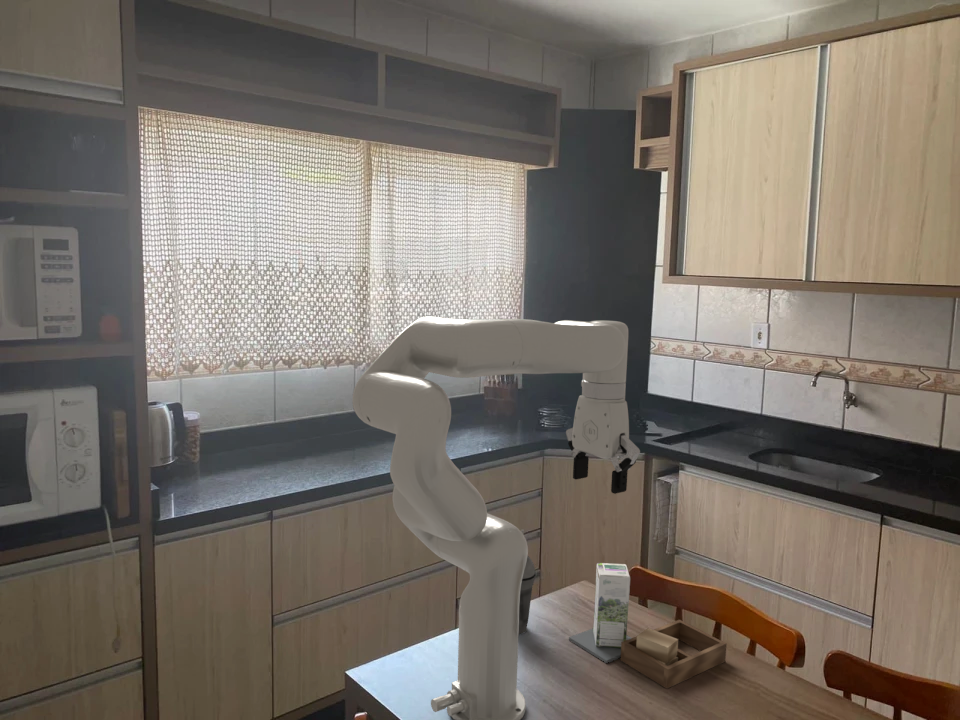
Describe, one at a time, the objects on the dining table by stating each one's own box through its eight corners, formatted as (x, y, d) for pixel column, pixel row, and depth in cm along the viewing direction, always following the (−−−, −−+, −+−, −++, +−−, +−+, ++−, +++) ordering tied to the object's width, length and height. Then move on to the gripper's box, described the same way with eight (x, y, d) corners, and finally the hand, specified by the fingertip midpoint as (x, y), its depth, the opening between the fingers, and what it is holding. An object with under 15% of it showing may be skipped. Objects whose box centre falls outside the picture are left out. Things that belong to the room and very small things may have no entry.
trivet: (606, 663, 134) (606, 660, 134) (568, 639, 142) (569, 637, 142) (644, 648, 140) (644, 645, 140) (606, 626, 148) (606, 623, 148)
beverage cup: (489, 627, 146) (491, 530, 143) (515, 616, 151) (518, 521, 148) (515, 642, 141) (518, 541, 138) (541, 630, 145) (545, 532, 143)
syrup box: (622, 634, 143) (626, 562, 142) (626, 649, 138) (630, 575, 136) (592, 632, 144) (596, 560, 142) (595, 648, 138) (599, 573, 136)
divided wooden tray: (666, 688, 126) (667, 669, 126) (620, 660, 135) (621, 642, 135) (725, 661, 136) (726, 643, 135) (678, 636, 144) (679, 619, 144)
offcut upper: (666, 663, 129) (667, 647, 129) (636, 651, 133) (636, 635, 133) (677, 655, 132) (678, 639, 132) (646, 643, 136) (647, 627, 136)
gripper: (555, 385, 135) (551, 476, 138) (624, 400, 122) (619, 501, 124) (585, 382, 140) (581, 470, 142) (655, 397, 126) (650, 494, 128)
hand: (598, 484), depth 133 cm, fingers open, 9 cm apart
